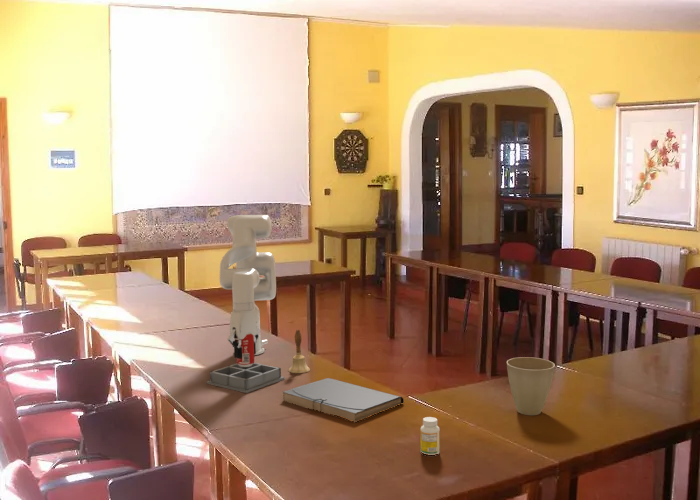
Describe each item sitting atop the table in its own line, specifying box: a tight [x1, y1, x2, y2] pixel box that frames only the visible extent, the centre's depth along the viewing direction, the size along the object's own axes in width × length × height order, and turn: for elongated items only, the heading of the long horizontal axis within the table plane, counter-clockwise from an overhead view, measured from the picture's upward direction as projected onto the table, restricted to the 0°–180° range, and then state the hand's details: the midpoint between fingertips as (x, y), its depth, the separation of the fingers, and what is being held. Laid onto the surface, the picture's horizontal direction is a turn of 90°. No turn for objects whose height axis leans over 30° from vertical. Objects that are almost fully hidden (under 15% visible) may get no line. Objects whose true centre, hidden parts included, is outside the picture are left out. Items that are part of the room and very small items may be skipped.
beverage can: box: [236, 333, 255, 367], centre depth 275 cm, size 6×6×12 cm
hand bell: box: [287, 329, 311, 374], centre depth 295 cm, size 8×8×16 cm
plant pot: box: [506, 356, 556, 416], centre depth 245 cm, size 15×15×16 cm
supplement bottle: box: [419, 416, 441, 456], centre depth 213 cm, size 5×5×10 cm
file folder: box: [282, 377, 405, 423], centre depth 257 cm, size 33×4×24 cm
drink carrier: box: [206, 362, 285, 394], centre depth 282 cm, size 20×20×4 cm
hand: (245, 355), depth 275 cm, fingers closed on beverage can, 6 cm apart
